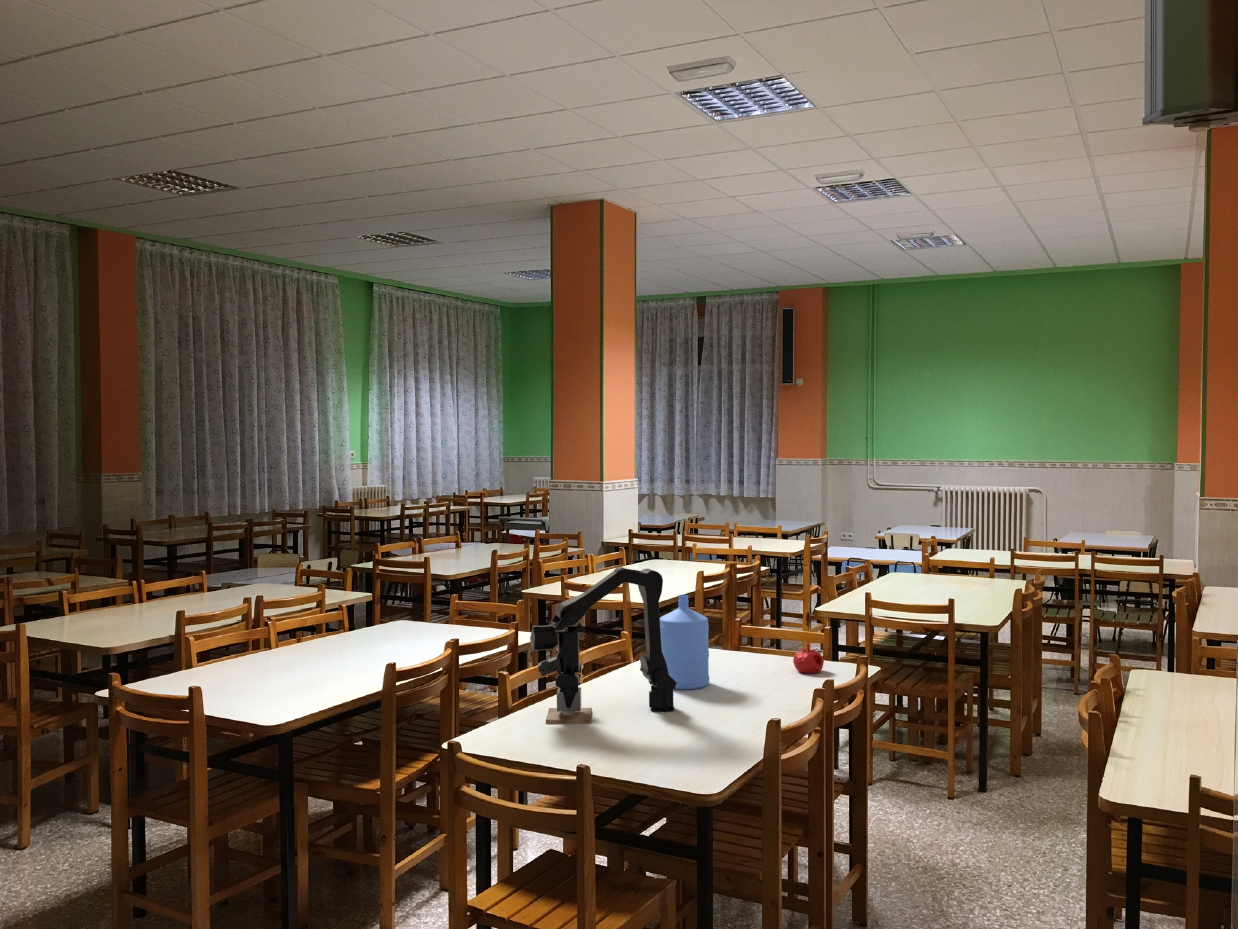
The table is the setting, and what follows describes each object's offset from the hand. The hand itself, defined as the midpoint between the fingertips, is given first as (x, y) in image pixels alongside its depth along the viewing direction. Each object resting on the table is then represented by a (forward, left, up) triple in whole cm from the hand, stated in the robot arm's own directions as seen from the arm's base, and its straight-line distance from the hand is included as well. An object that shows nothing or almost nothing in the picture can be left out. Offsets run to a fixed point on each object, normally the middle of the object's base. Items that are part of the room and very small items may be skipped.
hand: (569, 704), depth 269 cm
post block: (0, 0, -4) cm, 4 cm away
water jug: (-34, -37, -4) cm, 50 cm away
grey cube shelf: (0, 0, -1) cm, 1 cm away
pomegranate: (-76, -53, -4) cm, 93 cm away
